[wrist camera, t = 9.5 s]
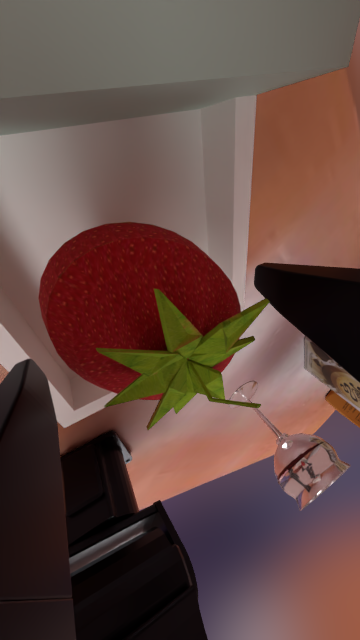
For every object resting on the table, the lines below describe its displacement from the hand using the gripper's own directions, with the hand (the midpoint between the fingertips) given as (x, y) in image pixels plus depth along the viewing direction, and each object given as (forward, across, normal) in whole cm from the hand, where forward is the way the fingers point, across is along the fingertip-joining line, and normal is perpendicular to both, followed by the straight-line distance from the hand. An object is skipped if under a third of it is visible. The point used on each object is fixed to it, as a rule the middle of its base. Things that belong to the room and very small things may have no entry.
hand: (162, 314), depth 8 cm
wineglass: (+6, -10, +23) cm, 26 cm away
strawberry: (+5, 0, 0) cm, 5 cm away
